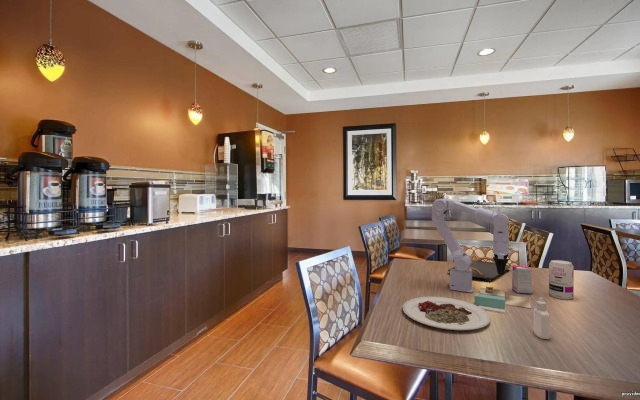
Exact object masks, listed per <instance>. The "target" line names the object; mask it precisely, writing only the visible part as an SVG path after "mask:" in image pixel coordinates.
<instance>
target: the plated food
mask: <svg viewBox="0 0 640 400" xmlns="http://www.w3.org/2000/svg"><path fill="white" fill-rule="evenodd" d="M478 306H479V305H474V304H473V303H471V302H468V301H465V300H461V299H456V298H452V297H451V298H450V297H444V296H420V297H414V298H410V299H408V300H406V301H405V302H403V304H402V310H403V312H404V314H405V315H407V317H409V318H410V319H412V320H414V321H415V322H418V323H419V324H420V323H421V324H423V325H426V326H429V327H433V328H437V329H443V330H448V331H449V330H454V331H472V330H478V329H482V328H484V327H486V326H488V325H489V324H490V323H491V315H490V314H489V313H488V312H487V311H486V310H484V309H482V308H480V307H478Z"/></svg>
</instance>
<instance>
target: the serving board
mask: <svg viewBox="0 0 640 400" xmlns="http://www.w3.org/2000/svg"><path fill="white" fill-rule="evenodd" d="M485 260H486V261H485ZM487 260H488V261H487ZM492 261H493V262H492ZM470 268H471V269H472V278H478V279H485V282H486V283H487V282H488V283H490V282H491V280H492V279H495V278H496V277H498V276H499V275H500V274H498V272H497V267H496V264H495V261H494V259H493V257H487V256H483V257H481V258H479V259H476V260H474V259H472V265H471V266H470ZM510 268H511V266H510V265H507V264H506V267H505V271H509V269H510ZM451 269H455V266H453V267H450V268H449V269H447V271H448V272H449V273H450V270H451Z"/></svg>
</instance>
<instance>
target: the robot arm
mask: <svg viewBox="0 0 640 400" xmlns="http://www.w3.org/2000/svg"><path fill="white" fill-rule="evenodd" d="M451 210H457V211H461V212H463V213H467V214H470V215H473V216H474V218H475V219H476V220H479V221H482V222H484V223H487V224H491V225H492V224H493V232H492V234H493V235H492V241H493V242H492V243H493V247H492V248H493V250H492V253H493V257H492V258H493V259H494V261H493V262H494V263H495V264H496V267H497V272H498V274H499V275H501V276H503V275H505V267H506V265H507V263H508V262H509V258H508V257H509V255H512V253H513V252H512V251H509V246H510V245H509V235H510V234H509V226H508V225H509V222H510V220H509V217H508V215H506V214H504V213H502V212H500V213H499V211H497V210H496V211H494V210H492V209H491V210H490V209H488V207H486V206H480V207H473V206H471V205H468V204H466V203H463V202H460V201H458V200H453V199H448V198H446V197H444V198H443V197H442V198H437V199H435V200H434V201H433V203H432V206H431V221H432V223H433V224H434V226H435V227H436V230H437V231H438V233H439V235H440V236H441V238H442V240H443V241H444V243H445V245H446V246H447V248H448V250H449V251H450V253H451V258H452V260H453V262H454V263H453V264H454V266H453V267H455V269H451V268H450V269H451V270H450V272H449V290H451V291H459V292H465V293H466V292H467V293H470V294H471V293H472V294H473V292H474V286H473V277H472V269H471V268H470V266H471V265H472V260H473V259H472V257H471V256H470V255H469V254H467V253H466V251H465V250H464V249H463V248H462V247H461V245H460V244H459V242H458V240H457V238H456V237H455V236H454V234H453V232H452V230H451V228H450V227H449V225H448V224H447V222H446V220H445V218H446V215H447V212H448V211H451Z"/></svg>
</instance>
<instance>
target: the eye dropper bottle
mask: <svg viewBox="0 0 640 400" xmlns="http://www.w3.org/2000/svg"><path fill="white" fill-rule="evenodd" d="M532 316H533V318H532V319H533V321H532V323H533V325H532V327H533V328H532V329H533V331H532V332H533V333H534V335H535V336H536V337H538V338H540V339H542V340H550V337H551V335H550V332H551V331H550V327H551V325H550V324H551V323H550V321H551V320H550V314H549V312H548V310H547V302H545V301H544V298H543V297H539V299H538V300H537V301H536V307H534V309H533V315H532Z"/></svg>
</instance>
